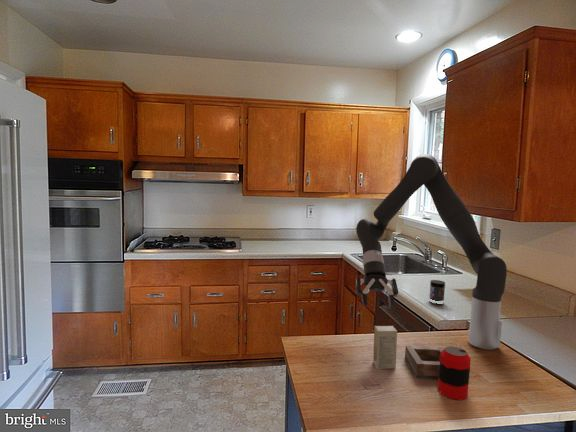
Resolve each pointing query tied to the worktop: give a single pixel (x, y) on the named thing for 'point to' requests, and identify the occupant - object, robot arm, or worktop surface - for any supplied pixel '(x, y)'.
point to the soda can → (454, 373)
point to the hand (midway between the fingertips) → (378, 306)
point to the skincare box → (385, 347)
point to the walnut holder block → (424, 361)
